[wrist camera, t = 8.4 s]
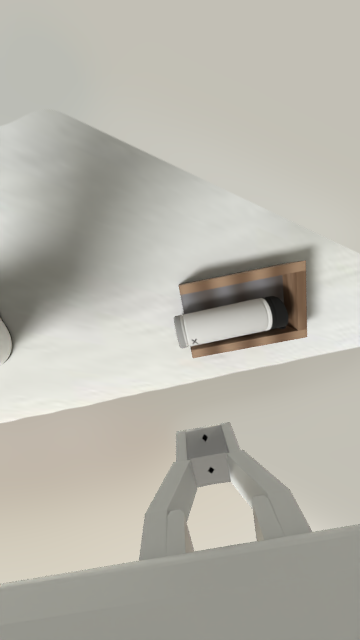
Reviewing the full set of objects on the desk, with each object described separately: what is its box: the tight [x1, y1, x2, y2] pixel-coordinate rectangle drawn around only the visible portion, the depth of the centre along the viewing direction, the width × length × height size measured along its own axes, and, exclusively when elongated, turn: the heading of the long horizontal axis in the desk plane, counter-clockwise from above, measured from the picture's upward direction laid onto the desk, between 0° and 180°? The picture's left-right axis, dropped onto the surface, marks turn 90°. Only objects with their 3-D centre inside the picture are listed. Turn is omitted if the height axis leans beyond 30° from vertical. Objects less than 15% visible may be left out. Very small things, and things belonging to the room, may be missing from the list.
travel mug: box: [174, 296, 288, 348], centre depth 33 cm, size 6×7×20 cm
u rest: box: [179, 261, 307, 358], centre depth 34 cm, size 22×14×5 cm, turn 101°
